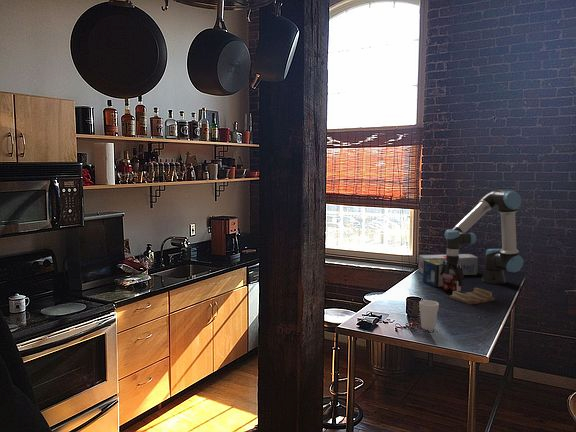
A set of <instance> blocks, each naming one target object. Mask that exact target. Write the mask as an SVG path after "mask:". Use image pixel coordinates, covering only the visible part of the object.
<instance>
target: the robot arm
mask: <svg viewBox="0 0 576 432" xmlns="http://www.w3.org/2000/svg"><path fill="white" fill-rule="evenodd" d="M520 195H521V194H519V193H518V192H516V191H515V190H511V189H509V190H505V189H494V190H492V191H490V192H488V193H487V194H485V195H484V196H483V197H482V198H480V200H479V201H478V204H476V206H474V207H473V209H471V211H469V212H468V213H467V214H466V215H465V216H463V218H462V219H461V220H460V221H459V222H458V223H457V224H456V225H455V226H454V227H453V228H450V229H446V230H445V232H444V238H445V239H446V254H447V255H446V254H445V255H446V260H447V261H443V266H442V269H441V272H440V275H442V274H443V273H448V272H449V270H450V269H452V270H453V271H454V272H455V274H456V277H457V279H458V281H457V292H461V291H462V290H461V289H462V288H461V285H462V286H463V281H465V275H463V271H462V265H458V261H459V256H458V255H459V254H460V246H465V245H466V246H467V245H468V246H469V245H474V244H475V243H476V241H477V235H476V234H475V233H474V232H467V231H469V230H470V229H471V228H472V227H473V226H474V225H475V224H476V222H478V221H479V220H480V219H481V218H482V217H483V216H484V215H485V214H486V213H487V212H489V211H491V210H493V209H494V208H497V212H498V213H499V214H500V225H501V248H488V249H486V251H485V262H484V263H485V265H484V267H485V268H484V271H483V273H482V276H481V281H482V282H484V283H487V284H493V285H503V284H506V278H505V273H504V271H506V272H508V273H517V272H519V271H520V270H521V269H522V268H523V266H524V258H523V257H522V256H521V255H520V251H519V249H517V231H516V227H517V226H516V213H517V212H518V211H519V210H518V209H519V208H520V206H521V205H522V198H521V196H520ZM459 278H460V279H459ZM442 280H443V279H442Z"/></svg>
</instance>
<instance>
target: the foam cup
mask: <svg viewBox="0 0 576 432" xmlns="http://www.w3.org/2000/svg"><path fill="white" fill-rule="evenodd" d="M418 303H419V305H418V307H419V315H420V316H419V317H420V324H421V329H422V330H426V331H434V330H435V328H436V321H437V316H438V310H439V308H440V307H439V306H440V303H439V302H438V301H435V300H432V299H431V300H429V299H425V300H424V299H423V300H420V301H419V302H418Z"/></svg>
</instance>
